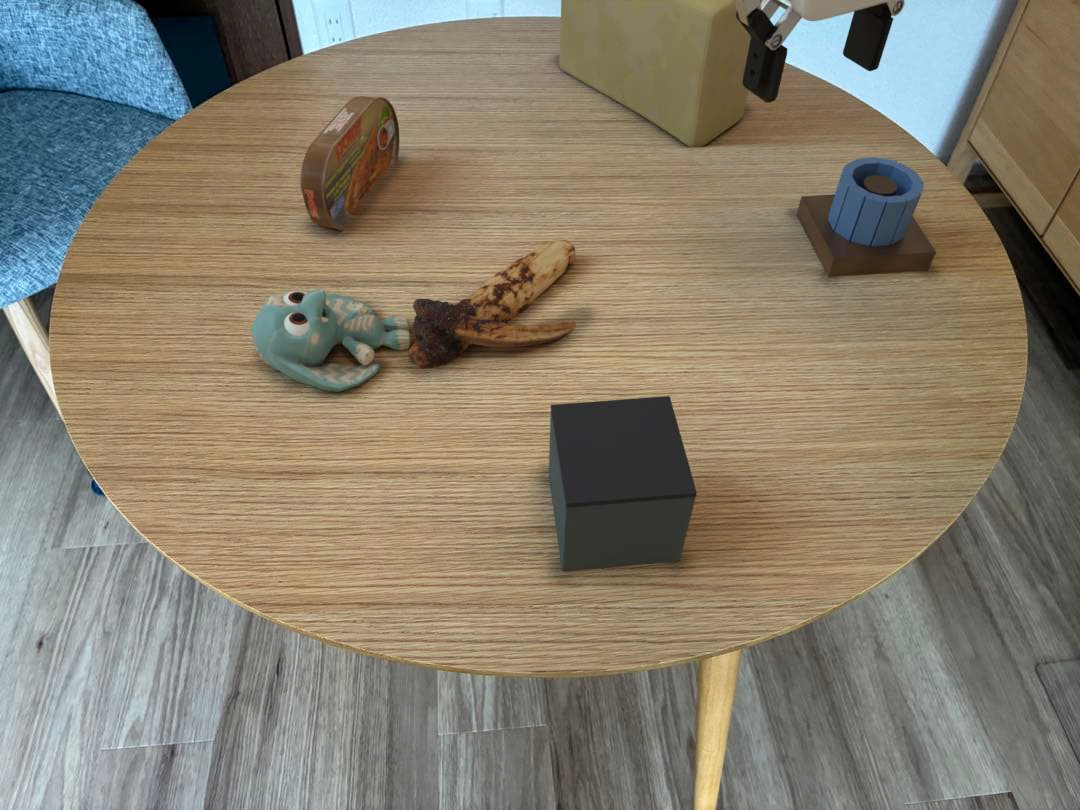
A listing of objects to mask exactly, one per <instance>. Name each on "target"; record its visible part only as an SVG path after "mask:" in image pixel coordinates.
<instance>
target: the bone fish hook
mask: <svg viewBox="0 0 1080 810" xmlns="http://www.w3.org/2000/svg"><path fill="white" fill-rule="evenodd" d="M575 261H576V247H575V246H574V244H573V243H571V242H570V241H568V240H567V239H555V240H551V241H549V242H546V243H542V244H541V245H539V246H537V247H534V248H533V249H531V250H530V251H528V252H526V253H525V254H524V255H522V256H521V257H519V258H518V259H516V260H514V261H512V262H511V263H510V264H508V265H506V266H505V267H504V268H502V269H501V270H499V271H498V272H497V273H495V275H493V277H491V278H490V279H489V280H488V281H486V282H485V283H483V284H481V285H480V286H478V287H477V288H476V289H475V290H474V291H473V292H471V293H470V294H468V296H466V298H465V297H464V299H461V300H460V301H459V302H457V303H456V304H453V303H451V304H450V303H449V302H448V301H446V300H445V301H441V300H440V299H439V300H438V299H437V300H432V299H430V298H416V299H415V300H414V302H413V304H412V309H413V310H414V313H415V316H414V318H413V324H412V331H413V333H414V336H415V339H416V340H415V342H414V343H413V344H411V346H410V347H409V349H408V358H409V359H410V360H411V361H412V363H413V364H414V365H415V366H417V367H419V368H420V369H422V370H425V369H431V368H433V367H436V366H440V365H442V364H443V365H446V364H448V363H450V361H451V360H453V359H458V358H459V357H460V356H461V355H462V353H463V352H464V351H465V350H467V349H468V348H469V347H470V346H471V345H477V346H478V345H479V346H485V347H493V348H495V347H498V348H499V347H500V348H507V347H508V348H509V347H510V348H511V347H512V348H513V347H514V348H516V347H525V346H534V345H539V344H545V343H549V342H550V343H551V342H554V341H557V340H560V339H562V338H564V337H566V336H568V335H569V334H570V333H572V332H573V331H574V329H575V328H576V325H577V323H576V321H575V320H567V321H557V322H547V323H545V322H544V323H527V324H525V323H524V324H523V323H522V324H521V323H510V322H509V323H507V321H509V320H513V319H514V318H515V317H516V316H517V315H518V314H520V313H522V312H523V311H525V310H526V309H527V308H529V307H530V306H531V305H532V304H533V303H534V301H535V300H536V299H537V298H538V297H539V296H540V295H541V294H543V292H545V291H546V290H548V288H550V287H551V286H552V285H553V284H554V283H555V282H556V280H557V279H558V278H559V277H561V276H562V275H563V274H564V273H565V272H566V271H567V268H568V266H571V265H572V264H573V263H575Z"/></svg>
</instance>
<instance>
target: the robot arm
mask: <svg viewBox="0 0 1080 810" xmlns="http://www.w3.org/2000/svg"><path fill="white" fill-rule="evenodd" d="M733 1H734V4H735V8H736V10H737V11H736V18H737V19H738V21H739V22H740V23H741V25H742V26H743V27H744V28H745V29H744V30H745V33H746V34H748V35H749V36H751V40H750V45H749V50H748V55H747V60H746V65H745V70H744V75H743V81H742V82H743V86H744V87H745V88H746V89H748V92H751V94H753V95H755V96H756V97H757V98H759V99H760V100H762V101H763V102H765V103H767V104H770V103H773V102H775V101H776V99H777V98H778V94H779V91H780V87H781V81H782V78H783V73H784V69H785V64H786V60H787V56H788V48H787V47H786V46H784V45H783V44H784V42H786V39H787V38H788V37H789V36H790V34H791V33H792V31H794V29H795V27H796V26H797V25H798V23H799V22H800V21H801V19H804V20H806V21H808V22H818V21H823V20H827V19H828V20H829V19H831V18H835V17H839V16H843V15H846V14H850V13H853V15H852V17H851V22H850V25H849V29H848V33H847V36H846V39H845V43H844V45H843V46H844V47H843V49H842V50H843V51H842V55H843V57H845V58H846V59H848V60H849V61H851V62H853V63H854V64H856V65H858V66H859V67H861V68H863V69H864V70H866V71H868V72H873V71H877V70H878V68H879V66H880V63H881V60H882V56H883V53H884V50H885V47H886V44H887V41H888V37H889V34H890V32H891V28H892V25H893V21H894V17H897V16H898V15H899V14H900V13H901V12H902V11H903V9H904V7H905V3H906V2H905V0H762V2H761V0H733ZM779 8H782V9H783V10H784V11H783V13H782V14H781V16H780V17H779V19H778V20H777V21H776V22H775V24H774V23H773V21H771V18H772V17H773V16H774V14H775V13H776V12H777V11H778V9H779ZM892 16H893V17H892Z"/></svg>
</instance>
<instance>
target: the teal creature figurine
mask: <svg viewBox="0 0 1080 810" xmlns="http://www.w3.org/2000/svg"><path fill="white" fill-rule="evenodd" d="M374 313H375V312H374V311H373V309H372V308H370V306H368V305H366V304H364V303H362V302H360V301H358V300H357V299H355V298H353V297H349V296H345V295H341V294H334V293H329V294H327V293H326V291H325V289H321V288H320V289H318V288H317V289H312V290H311V291H309V292H308V291H303V290H291V291H286V292H283V293H275V294H272V295H271V296H270V297H269V298H268V300H267V301H266V302H265V304H264V305H263V306H262V307H261V309H260V310H259V311H258V312H257V314H256V316H255V318H254V320H253V323H252V326H251V328H250V333H251V340H252V345H253V347H254V349H255V351H256V353H257V354H258V355H259V357H260V359H261V360H262V361H263V363H265V364H266V365H268V366H269V367H271V368H272V369H274V370H276V371H280V372H281V373H282V374H283V375H286V376H287V377H289V378H290V379H293V380H295V381H296V382H299V383H301V384H304V385H309V386H312V387H316V388H318V389H320V390H321V391H325V392H337V393H340V392H344V391H347V390H350V389H352V388H355V387H358V386H360V385H362V384H363V383H365V382H366V381H368V380H369V379H371V378H372V377H374V376H375V375H377V373H378V372H379V371H380V369H381V364H379V363H377V362H373V361H374V359H375V354H376V353H375V350H377V349H378V348H381V346H385V347H388V348H391V349H393V350H399V351H404V350H410V348H411V347H412V343H413V337H412V335H411V332H410V322H409V320H408V318H407V317H406V316H400V315H397V316H390V317H388V318H385V319H380V318H379V317H377V316H376V315H375V314H374ZM339 344H342V346H343V347H345V348H346V349H347V350H348V351H349V353H350V354H351V355H352V356H353V357H354V358H355V359H356V361H357V362H359V363H360V364H359V365H357V366H356V365H345V364H337V363H329V364H328V363H327V364H323V363H324V361H325V360H326V358H327V357H328V355H329V353H330V352H331V350H332V349H333V348H334V347H335V346H336V345H339Z"/></svg>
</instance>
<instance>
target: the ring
mask: <svg viewBox="0 0 1080 810" xmlns="http://www.w3.org/2000/svg"><path fill="white" fill-rule="evenodd" d="M872 175H881V176H885V177H888V178H890V179H892V180H893V181H895V183H896V184H897V191H896V194H895V196H881V195H877V194H873V193H870V192H868V191H866V190H865V189H863V188H861V187H862V184H863V181H864V179H865V178H866V177H868V176H872ZM924 186H925V184H924V181H923V180H922V178H921V176H920V175H919V174H918V172H916V171H915V170H914V169H912V168H911V167H909V166H907V165H905V164H903V163H902V162H898V161H897V160H893V159H888V158H885V157H877V156H875V157H859V158H856V159H854V160H852V161H850V162H848V163H846V164H845V165H844V166H843V169H842V171H841V174H840V177H839V180H838V184H837V187H836V190H835V192H834V194H835V196H834V199H833V202H832V205H831V209H830V212H829V215H828V221H829V223H830V225H831V227H832V228H833V230H835V232H836V233H838V234H839V235H841V236H842V237H844V238H845V239H847V240H848V241H850V240H851V242H854V243H858V244H862V245H866V246H870V244H871V246H872V247H874V246H889V245H890V244H891V245H892V244H894V243H895V242H897V241H899V240H901V239H902V238H903V237H904V236H905V234H906V231H907V229H908V226H909V224H910V221H911V219H912V216H913V217H914V214H915V211H916V209H917V207H918V204H919V201H920V199H921V197H922V194H923V193H922V192H923V189H924Z"/></svg>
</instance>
